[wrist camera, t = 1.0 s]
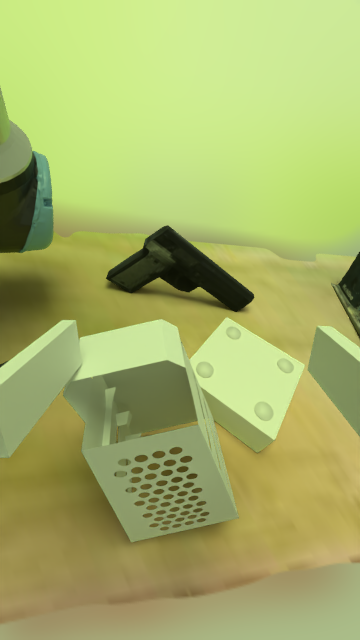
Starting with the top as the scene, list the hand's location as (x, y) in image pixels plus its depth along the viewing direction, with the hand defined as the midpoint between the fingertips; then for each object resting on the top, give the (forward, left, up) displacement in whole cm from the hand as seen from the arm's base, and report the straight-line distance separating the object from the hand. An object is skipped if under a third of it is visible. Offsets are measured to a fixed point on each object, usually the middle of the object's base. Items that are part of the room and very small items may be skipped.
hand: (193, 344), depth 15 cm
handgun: (-14, +26, -23) cm, 38 cm away
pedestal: (+4, +16, -23) cm, 29 cm away
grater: (+3, 0, -21) cm, 21 cm away
